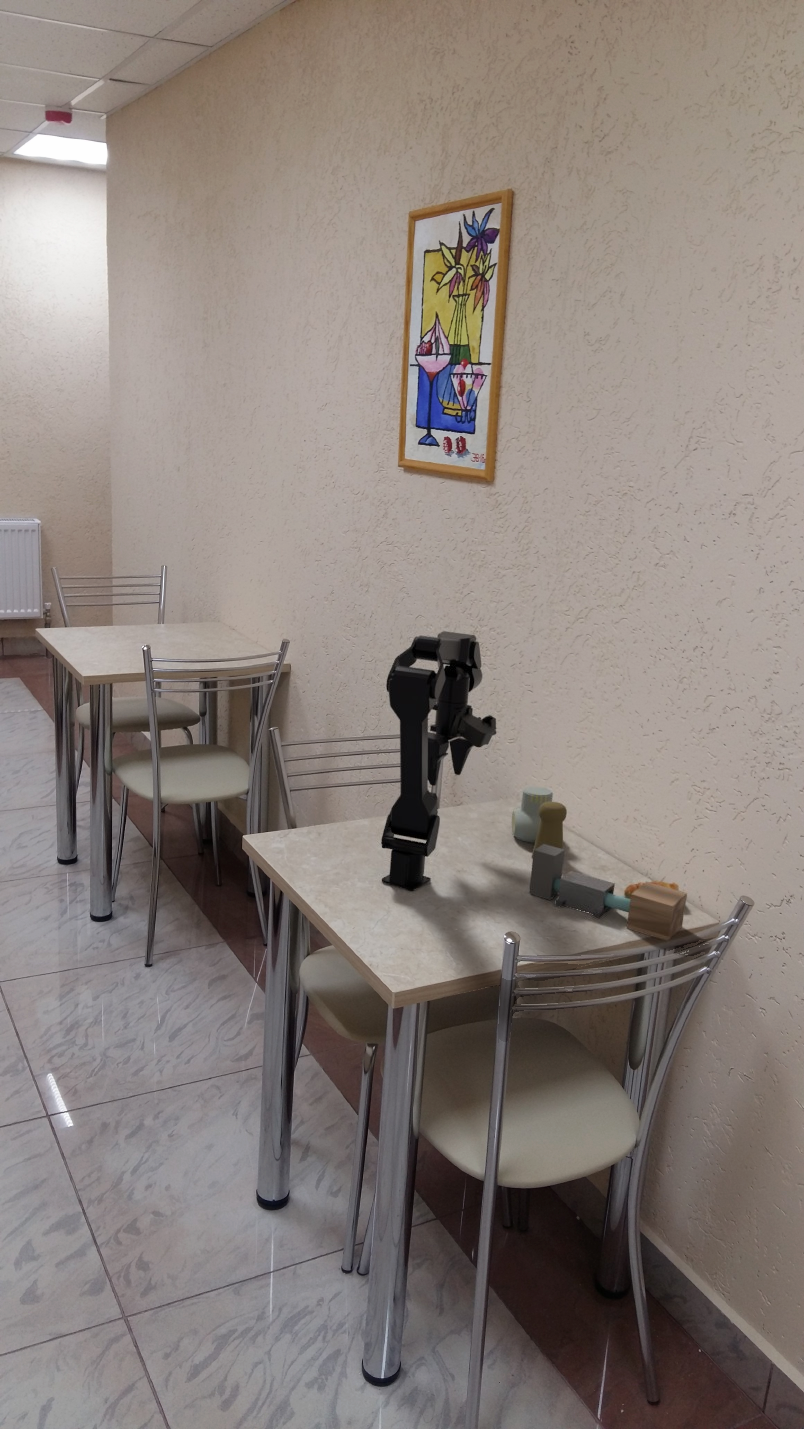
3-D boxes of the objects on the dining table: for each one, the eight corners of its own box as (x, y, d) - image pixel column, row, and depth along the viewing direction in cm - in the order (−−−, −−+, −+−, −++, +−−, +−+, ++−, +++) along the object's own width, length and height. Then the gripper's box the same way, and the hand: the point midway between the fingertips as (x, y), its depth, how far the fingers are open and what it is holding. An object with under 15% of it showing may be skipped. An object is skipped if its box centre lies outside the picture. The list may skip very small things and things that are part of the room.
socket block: (667, 940, 177) (672, 906, 176) (626, 928, 181) (631, 894, 180) (682, 926, 183) (687, 893, 182) (641, 914, 187) (646, 881, 185)
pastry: (625, 906, 190) (628, 885, 189) (621, 891, 197) (624, 871, 196) (680, 912, 190) (683, 891, 189) (674, 897, 196) (677, 877, 195)
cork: (553, 867, 205) (559, 811, 202) (525, 858, 208) (531, 802, 206) (569, 859, 210) (575, 804, 207) (541, 850, 213) (547, 796, 210)
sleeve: (598, 918, 184) (602, 893, 183) (555, 905, 188) (558, 880, 187) (613, 906, 189) (616, 881, 188) (570, 894, 193) (573, 869, 192)
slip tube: (658, 932, 180) (665, 887, 178) (529, 893, 192) (533, 850, 190) (667, 924, 183) (673, 879, 181) (539, 886, 195) (543, 843, 193)
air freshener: (556, 850, 214) (562, 801, 212) (514, 847, 214) (519, 797, 212) (550, 830, 225) (555, 783, 222) (509, 827, 225) (514, 780, 222)
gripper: (465, 716, 193) (457, 801, 197) (513, 699, 209) (505, 778, 213) (411, 704, 199) (405, 787, 203) (462, 689, 214) (455, 766, 218)
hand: (445, 779), depth 209 cm, fingers open, 9 cm apart
